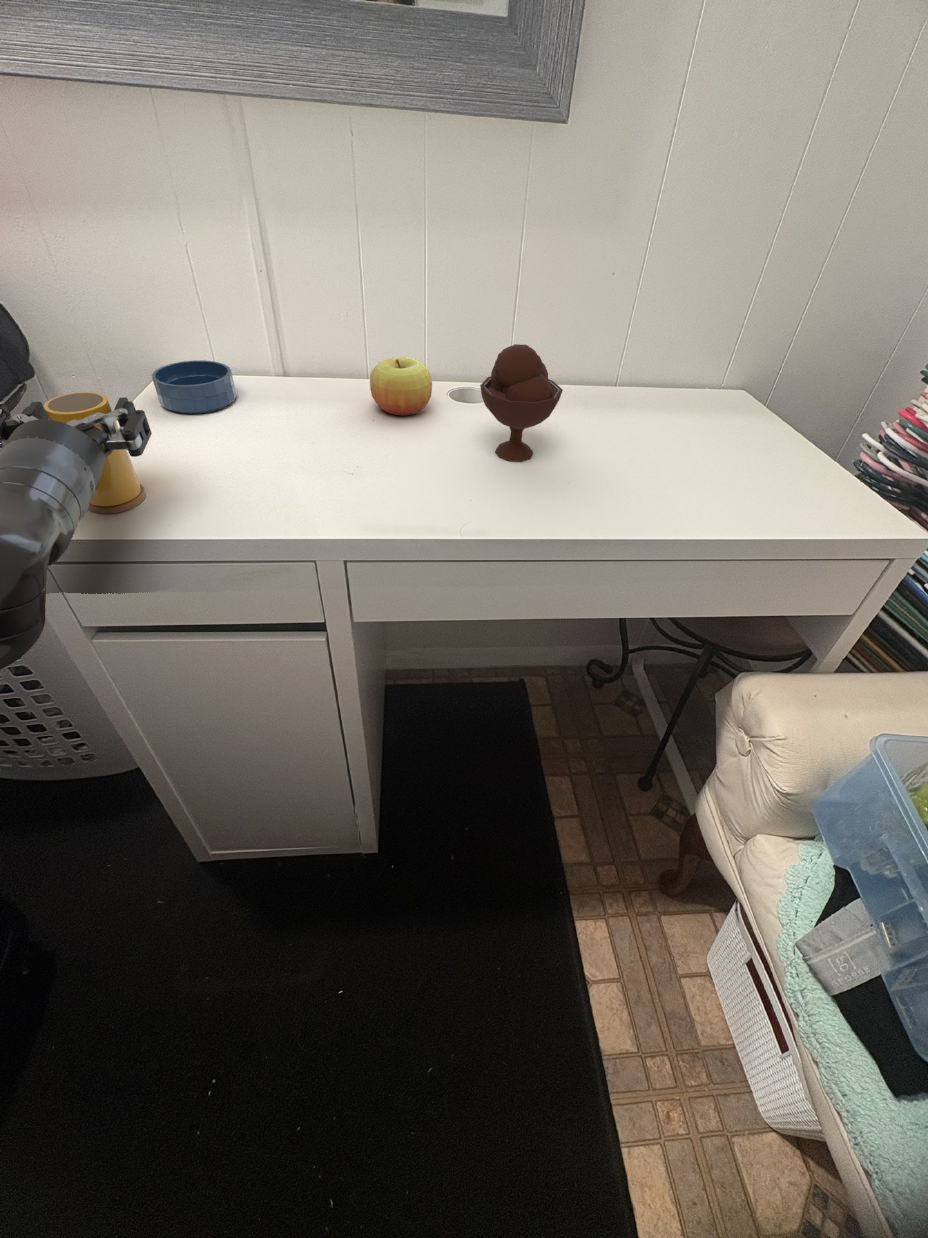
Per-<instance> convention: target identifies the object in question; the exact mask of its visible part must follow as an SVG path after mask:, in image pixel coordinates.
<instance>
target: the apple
mask: <svg viewBox="0 0 928 1238" xmlns="http://www.w3.org/2000/svg"><path fill="white" fill-rule="evenodd" d="M369 388H370V395H371V397H372V399H373V401H374V402H375V404H376V405H377V406H378V407H379V408H380V409H382V410H383V411H384V412H385V413H386V412H387V413H388V414H392V415H395V416H411V415H414V414H416V413H420V411H421V410H423V409H425V407H426V406H427V405H428V403H429V401H430V399H431V398H432V393H433V392H432V391H433V379H432V375H431V374H430V371H429V370H428V369H427V367H426V366H425V365H424V364H423V362H420V361H418V360H416V359H414V358H410V357H403V356H398V357H395V356H394V357H389V358H385V359H382V360H381V361H379V362H378V363H377V364H376V365H375V366H374V367H373V368H372V370H371V373H370V375H369Z"/></svg>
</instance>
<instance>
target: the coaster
mask: <svg viewBox="0 0 928 1238" xmlns="http://www.w3.org/2000/svg"><path fill="white" fill-rule="evenodd" d="M139 484H140V486H141V492H140V494H139V495H138V496H137V497H136V498H134V499H133V500H131V501H129V502H126V503H123V504H120V505H115V506H95V505H92V504H90V505H89V507H88V509H87V511H89V512H91V513H94V514H101V515H110V514H119V513H122V512H127V511H129V510H131V509H134V508H136V507H138V506H139V505H140V504H141V503H143V502H144V500H145V499H146V496H147V494H146V490H145V488H144V486H143V485H142V484H141V483H139Z"/></svg>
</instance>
